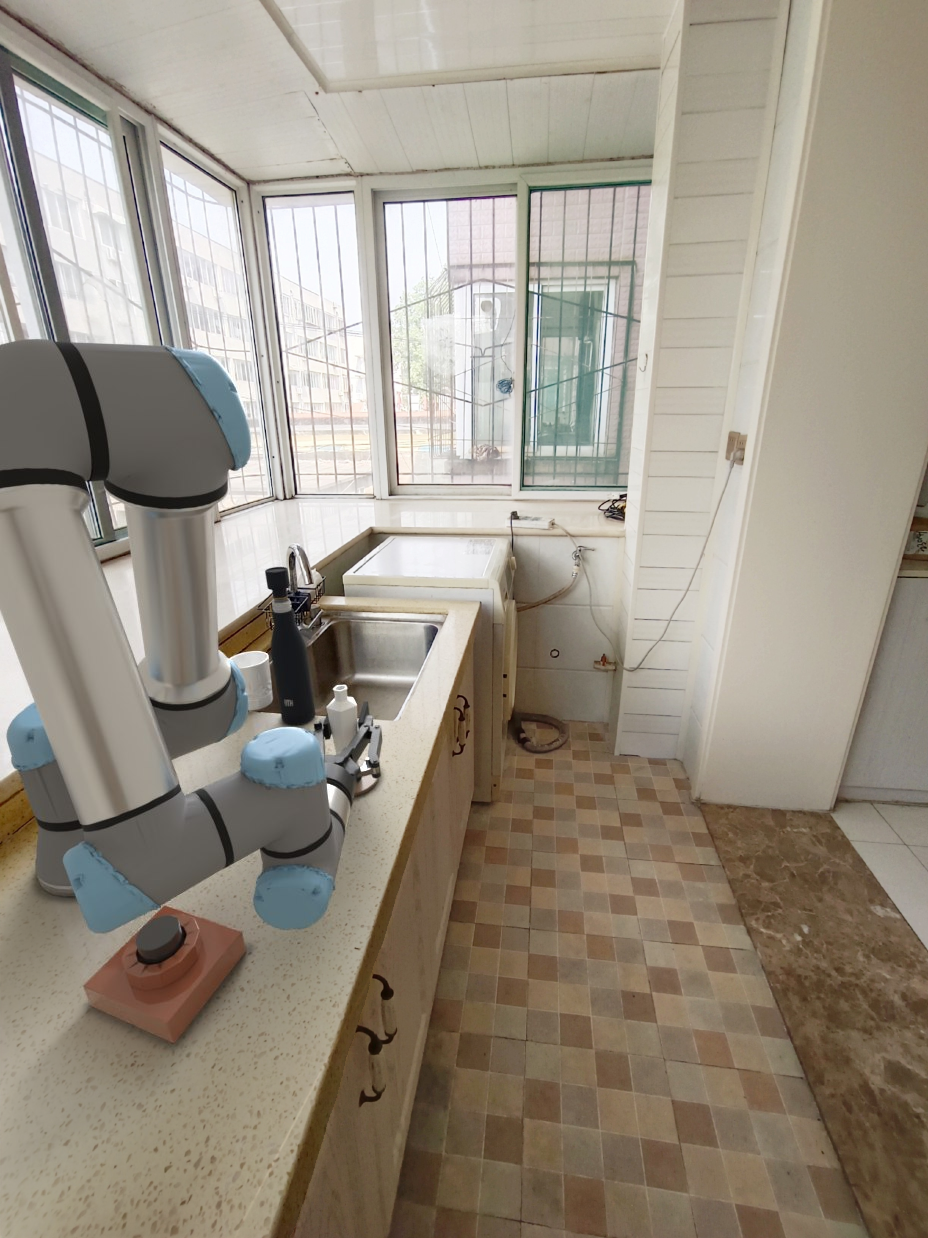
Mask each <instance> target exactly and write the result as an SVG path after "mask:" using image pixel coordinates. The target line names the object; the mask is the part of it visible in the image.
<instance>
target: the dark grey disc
mask: <svg viewBox="0 0 928 1238" xmlns="http://www.w3.org/2000/svg"><path fill="white" fill-rule="evenodd" d="M147 922H148V921H147ZM147 922H146V923H147ZM146 923H145V924H146ZM145 924H144V925H145ZM144 925H143V926H142V927H143V928H142V927H141V928H142V929H141V928H140V929H141V930H140V929H139V930H140V931H139V930H138V931H139V933H138V934H137V937H136V946H137V949H138V952H139V955H140V958H141V960H142V961H143V962H144V963H146V964H150V965H152V964H158V963H161V962H163V961H165V960H167V959H168V958H170V957H172V956H173V955H175V954H176V953H177V951H178V950H179V949H180V948H181V946H182V944H183V940H184V935H183V932H182V929H181V925H180V922H179V920H178V918H176V917H175V916H172V915H164V916H160V917H157V918H155V919H153V920H151V921H150V922H148V923H147V924H146V925H145V926H144Z"/></svg>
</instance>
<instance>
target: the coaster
mask: <svg viewBox="0 0 928 1238" xmlns="http://www.w3.org/2000/svg"><path fill="white" fill-rule="evenodd" d="M365 761H366V760H364V759H358V763H359V766H360V767H362V766H363V765H364V762H365ZM379 779H380V777H379V778H373V777H372V775H368V776H364V777H362V779H361V781H360V782H359V783H358V784H357V785H356V790H355V794H354V797H357V796H361V795H363V794H365V793H368V792H369V791H370V790H372V789H373V788H374V787H375V786H376V785H377V784H378V782H379Z"/></svg>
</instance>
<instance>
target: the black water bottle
mask: <svg viewBox="0 0 928 1238" xmlns="http://www.w3.org/2000/svg"><path fill="white" fill-rule="evenodd" d="M264 574H265V580H266V586H267V589H268V590H270V591H271V593H272V599H273V600H272V601H271V602H272V603H271V606H272V611H271V615H272V621H273V622H272V623H273V629H272V634H271V639H270V640H271V642H270V656H271V663H272V668H273V674H274V675H273V676H274V680H275V686H276V693H277V699H278V704H279V705H278V706H279V710H280V716H281V717H280V718H281V721H282V722H283V723H284V724H286V725H288V726H299V725H304V724H307V723H309V722H310V721H311V722H312V720H313V719H314V718H315V717H316V707H315V700H314V693H313V686H312V680H311V672H310V664H309V659H308V658H309V657H308V651H307V645H306V642H305V638H304V637H303V634H302V632H301V630H300V628H299V627H298V624H297V623H296V620H295V618H296V617H295V612H294V611H295V610H294V608H292V601H291V600H290V598H288V597H289V594H288V590H287V589H288V588H290V587H291V582H290V576H289V569H288V567H285V566H274V567H269V568H266V569H265V570H264Z"/></svg>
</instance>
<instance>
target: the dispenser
mask: <svg viewBox="0 0 928 1238" xmlns="http://www.w3.org/2000/svg"><path fill="white" fill-rule="evenodd" d="M164 915H172V916H175V917H176V918H178V920H179V922H180V925H181V929H182V932H183V935H184V940H183V944H182V946H181V948H180V949H179V950H178V951H177V953H176V954H175V955H173V956H172V957H170V958H168V959H167V960H165V961H163V962H161V963H158V964H152V965H150V964H146V963H144V962H143V961H142V960H141V958H140V955H139V952H138V949H137V946H136V937H137V934H138V933H139V931H140V930H141V929H142V928H143V926H145V925H146V924H147V923H148V922H150V921H151V920H153V919H155V918H157V917H160V916H164ZM143 926H141V928H140V929H139V930H138V931H136V933H134V934H133V936H131V937H130V939H128V940H127V941H126V942H125V943H124V944H123V945H122V946H121V947H120V948H119V949H118V950H117V951H116V952H115V953H114V954H113V955H112V956H111V957H110V958H109V959H108V960H107V961H106V962H105V963H104V964H103V965H102V966H101V967H100V968H99V969H98V970H97V971H96V972H95V973H94V974H93V975H92V976H91V977H90V978H89V979H87V981H86V982H85V983H84V984H83V985H82V988H83V990H84V993H85V995H86V997H87V1001H88V1003H89V1005H90V1007H92V1008H94V1009H97V1010H98V1011H101V1012H103V1013H105V1014H107V1015H110V1016H112V1017H114V1018H116V1019H118V1020H121V1021H122V1022H124V1023H128V1024H130V1025H132V1026H134V1027H136V1028H138V1029H140V1030H143V1031H145V1032H147V1033H149V1034H152V1035H154V1036H156V1037H158V1038H160V1039H162V1040H164V1041H167V1042H169V1043H172V1044H176V1042H177V1041H178V1039H179V1038H180V1037H181V1035H183V1033H184V1032H185V1031H186V1029H187V1028H188V1027H189V1026H190V1024H191V1023H192V1022H193V1020H194V1019H195V1018H196V1016H197V1015H198V1014H199V1012H200V1011H201V1010H202V1009H203V1008H204V1006H205V1004H207V1002H208V1001H209V1000H210V998H211V997H212V996H213V995H214V993H215V992H216V991H217V989H218V988H219V987H220V986H221V984H223V982H224V981H225V979H226V978H227V976H228V975H229V974H230V973H231V971H232V970H233V969H234V967H236V965H237V964H238V962H239V961H240V960H241V959H242V957H243V956H244V955H245V953H246V952H247V948H246V947H247V946H246V943H245V939H244V936H243V932H242V931H241V930H240V929H239V930H238V929H236V928H233V927H230V926H227V925H224V924H222V923H219V922H215V921H213V920H210V919H207V918H204V917H202V916H199V915H195V914H193V913H190V912H187V911H185V910H182V909H178V908H175V907H172V906H170V905H166V904H163V905H162V906H161V907H160V908H159V909H158V910H157V912H156V913H155V914H154V915H153V916H151V918H149V920H148V921H147V922H146V923H145V924H144V925H143Z"/></svg>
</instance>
